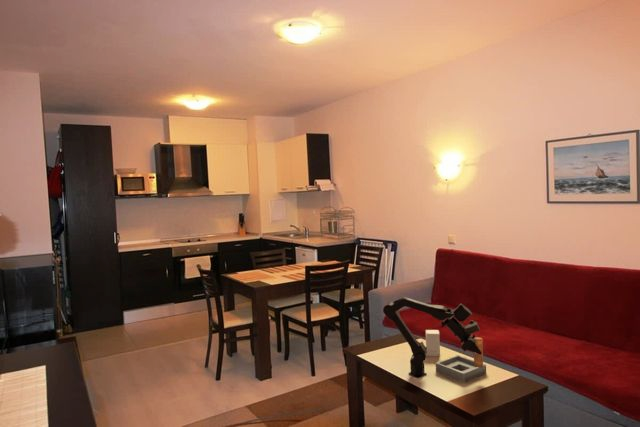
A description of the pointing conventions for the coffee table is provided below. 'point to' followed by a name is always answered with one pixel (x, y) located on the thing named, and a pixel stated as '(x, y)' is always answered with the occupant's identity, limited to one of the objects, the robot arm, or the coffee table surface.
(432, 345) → the supplement box
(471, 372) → the socket box
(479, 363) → the orange peg
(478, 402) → the coffee table surface
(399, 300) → the robot arm
